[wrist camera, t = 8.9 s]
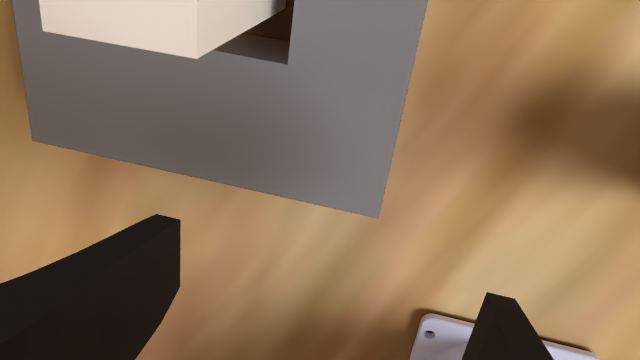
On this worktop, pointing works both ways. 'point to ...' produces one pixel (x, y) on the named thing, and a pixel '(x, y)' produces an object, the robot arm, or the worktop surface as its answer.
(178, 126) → the socket plate
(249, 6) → the square peg
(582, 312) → the worktop surface
